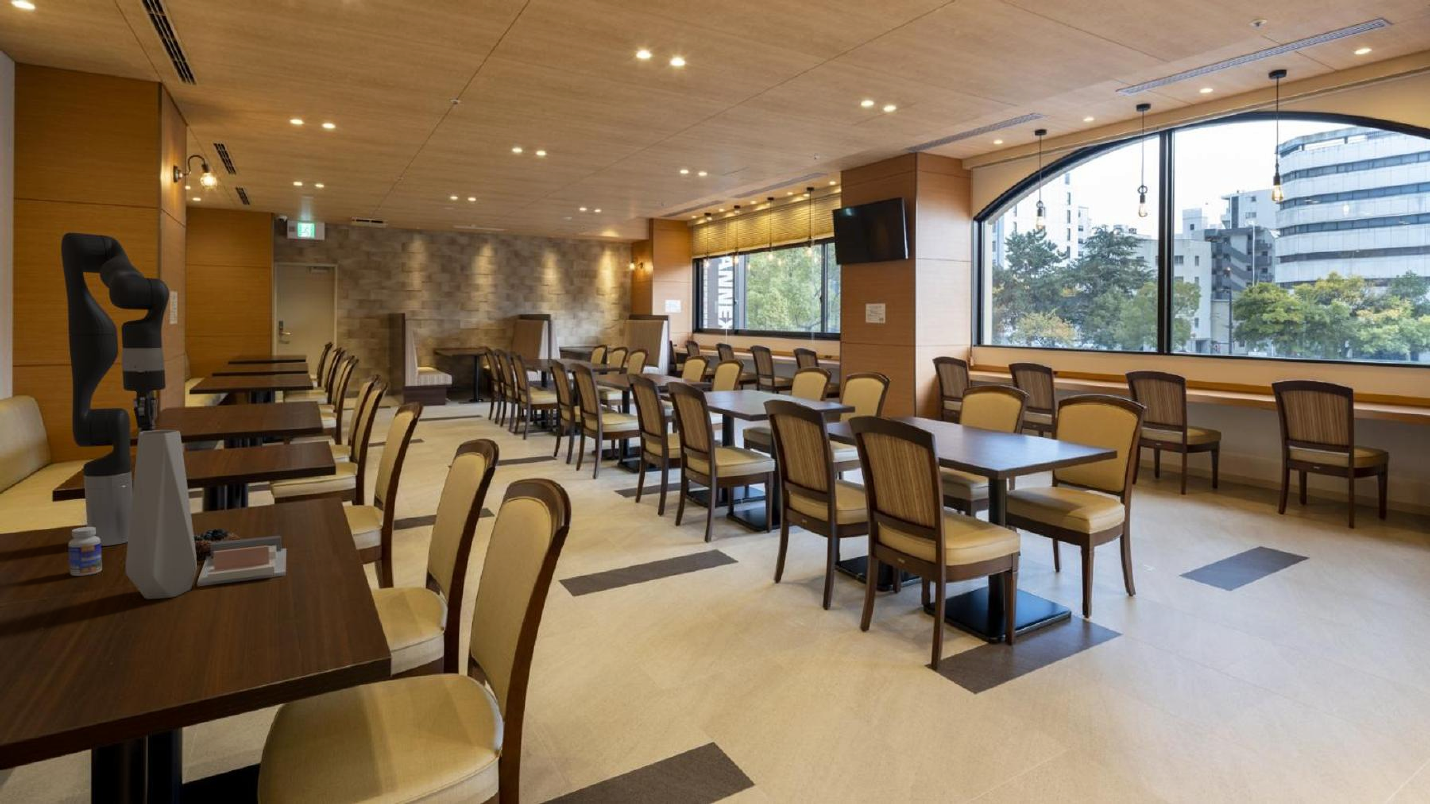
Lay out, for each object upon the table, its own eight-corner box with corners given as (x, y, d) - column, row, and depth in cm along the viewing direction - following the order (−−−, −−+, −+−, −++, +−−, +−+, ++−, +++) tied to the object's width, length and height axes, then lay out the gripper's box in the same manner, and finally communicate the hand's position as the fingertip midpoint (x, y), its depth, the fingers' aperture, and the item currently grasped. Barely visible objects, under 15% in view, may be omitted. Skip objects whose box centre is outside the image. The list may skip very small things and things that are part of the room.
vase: (218, 587, 158) (210, 429, 155) (162, 605, 147) (152, 437, 144) (176, 579, 162) (168, 426, 159) (118, 597, 151) (108, 433, 148)
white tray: (206, 559, 176) (206, 543, 176) (286, 551, 184) (285, 534, 184) (197, 586, 159) (196, 567, 158) (285, 575, 166) (284, 557, 166)
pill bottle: (84, 577, 163) (81, 533, 162) (63, 575, 164) (60, 531, 163) (108, 569, 168) (106, 526, 167) (88, 567, 169) (86, 524, 169)
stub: (210, 575, 162) (208, 550, 162) (275, 567, 168) (274, 543, 168) (207, 581, 158) (206, 556, 158) (274, 573, 164) (273, 549, 163)
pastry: (170, 556, 179) (169, 532, 179) (222, 544, 190) (221, 521, 189) (198, 564, 174) (196, 538, 174) (250, 550, 185) (249, 527, 184)
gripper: (128, 367, 173) (132, 443, 174) (116, 370, 161) (121, 451, 163) (168, 366, 176) (172, 441, 178) (159, 369, 165) (164, 449, 166)
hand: (148, 445), depth 170 cm, fingers closed
